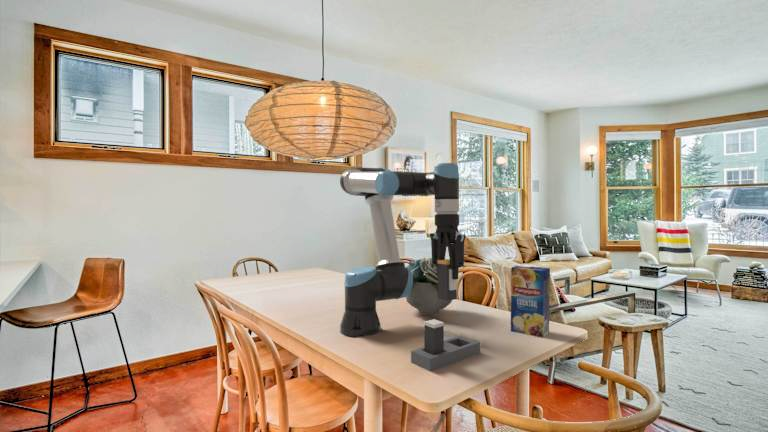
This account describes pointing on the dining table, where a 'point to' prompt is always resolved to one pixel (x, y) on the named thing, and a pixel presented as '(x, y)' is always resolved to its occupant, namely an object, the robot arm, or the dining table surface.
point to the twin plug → (434, 337)
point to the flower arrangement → (425, 288)
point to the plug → (445, 281)
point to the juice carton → (530, 300)
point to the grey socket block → (446, 353)
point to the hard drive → (448, 336)
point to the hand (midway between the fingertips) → (447, 288)
